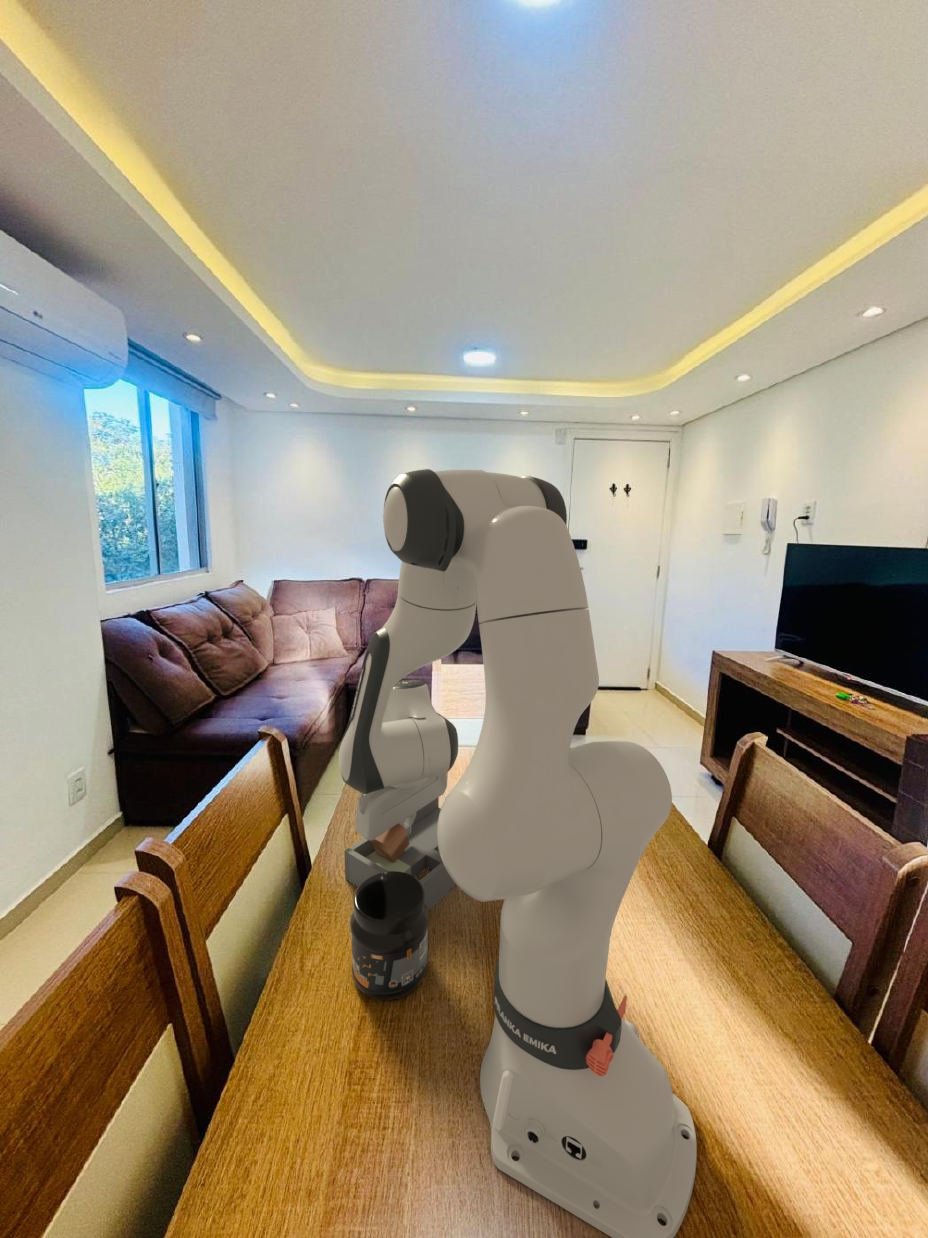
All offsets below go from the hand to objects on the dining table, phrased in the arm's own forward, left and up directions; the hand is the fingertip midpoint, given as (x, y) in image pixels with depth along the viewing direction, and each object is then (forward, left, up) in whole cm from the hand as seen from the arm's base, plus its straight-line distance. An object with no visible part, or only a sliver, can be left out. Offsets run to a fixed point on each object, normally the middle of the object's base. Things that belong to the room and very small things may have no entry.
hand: (403, 834), depth 93 cm
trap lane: (-4, -1, -4) cm, 6 cm away
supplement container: (-15, +19, -5) cm, 25 cm away
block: (0, +3, -1) cm, 3 cm away
